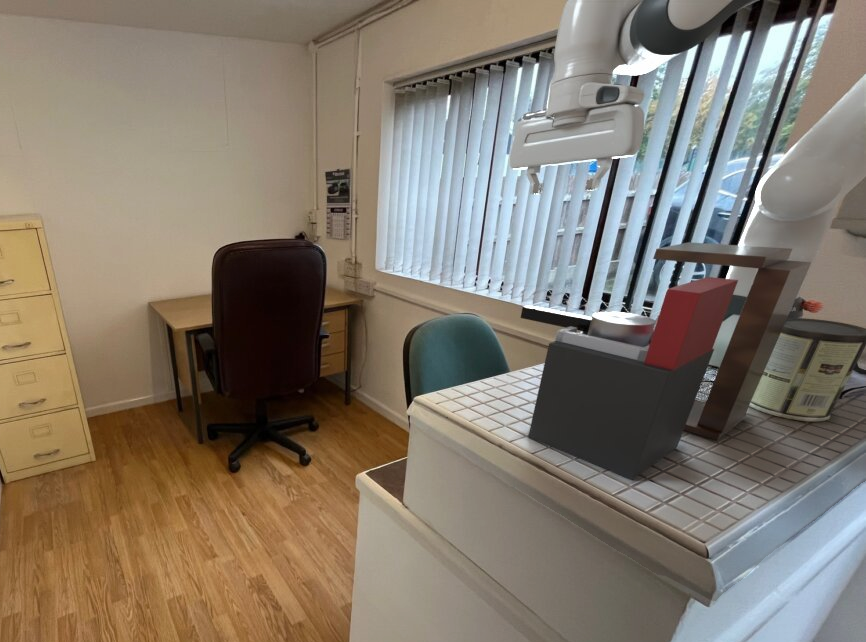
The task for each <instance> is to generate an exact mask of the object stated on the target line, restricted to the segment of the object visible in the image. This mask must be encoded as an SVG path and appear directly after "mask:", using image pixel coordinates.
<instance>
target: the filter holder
mask: <svg viewBox="0 0 866 642" xmlns="http://www.w3.org/2000/svg"><path fill="white" fill-rule="evenodd" d="M520 319H524V320H528V321H532V322H537V323H541V324H547V325H551V326H556V327H560V328H567V327H570V326H571V327H576V328H577V331H580V332H583V331H584V332H588V334H587V335H589V336H594V337H598V338H603V339H608V340H612V341H617V342H621V343H626V344H631V345H635V346H640V347H645V346H648V345H649V342H650V339H651V336H652V333H653V330H654V328H655V323H656V321H655V320H656V319H653V318H652V317H649V316H646V315H642V314H637V313H631V312H623V311H599V312H594V313H593V314H592V316H589V315H584V314H578V313H572V312H567V311H561V310H557V309H552V308H547V307H546V308H545V307H541V306H534V305H530V304H529V305H528V304H527V305H525V306H522V308H521V313H520Z"/></svg>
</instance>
